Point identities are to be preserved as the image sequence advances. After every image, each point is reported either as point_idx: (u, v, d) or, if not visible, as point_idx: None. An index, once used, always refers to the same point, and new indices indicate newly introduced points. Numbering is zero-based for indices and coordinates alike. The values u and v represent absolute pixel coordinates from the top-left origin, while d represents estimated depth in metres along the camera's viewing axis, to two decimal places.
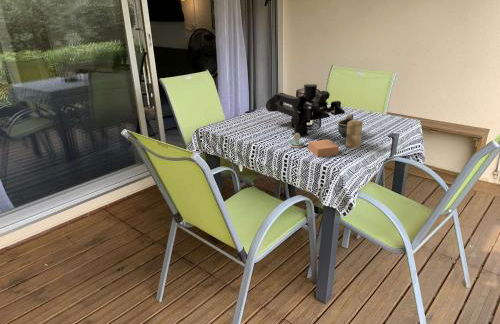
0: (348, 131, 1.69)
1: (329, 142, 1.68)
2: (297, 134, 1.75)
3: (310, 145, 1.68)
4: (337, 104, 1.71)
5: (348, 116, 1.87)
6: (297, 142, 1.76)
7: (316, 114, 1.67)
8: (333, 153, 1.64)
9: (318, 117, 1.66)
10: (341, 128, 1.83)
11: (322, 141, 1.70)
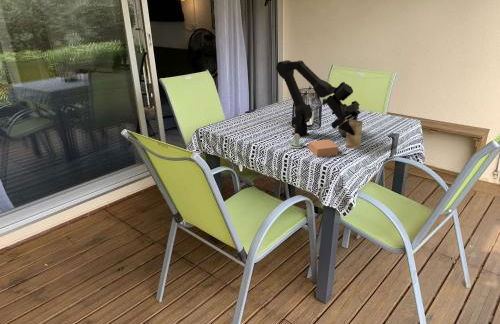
0: None
1: (330, 142, 1.68)
2: (297, 135, 1.74)
3: (310, 145, 1.69)
4: (356, 118, 1.72)
5: None
6: (297, 143, 1.75)
7: (343, 125, 1.68)
8: (333, 153, 1.64)
9: (343, 128, 1.69)
10: None
11: (322, 141, 1.70)
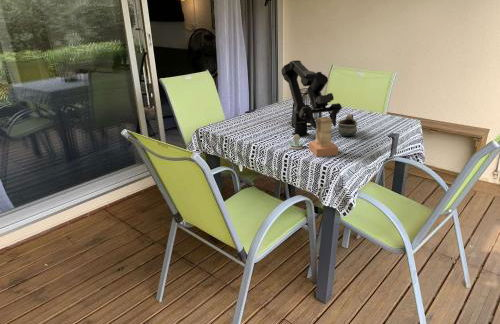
0: (317, 127, 1.65)
1: None
2: (297, 135, 1.73)
3: (310, 145, 1.69)
4: (335, 111, 1.64)
5: (348, 116, 1.87)
6: (297, 143, 1.74)
7: (307, 116, 1.63)
8: (332, 153, 1.64)
9: (308, 120, 1.64)
10: (341, 128, 1.83)
11: None
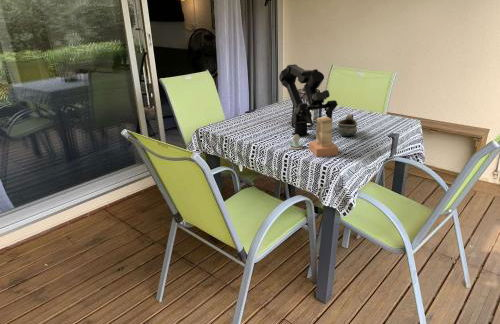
0: (317, 127, 1.64)
1: None
2: (296, 135, 1.73)
3: (310, 145, 1.69)
4: (331, 108, 1.67)
5: (348, 116, 1.87)
6: (296, 144, 1.74)
7: (304, 113, 1.66)
8: (332, 153, 1.64)
9: (304, 116, 1.67)
10: (341, 128, 1.83)
11: None
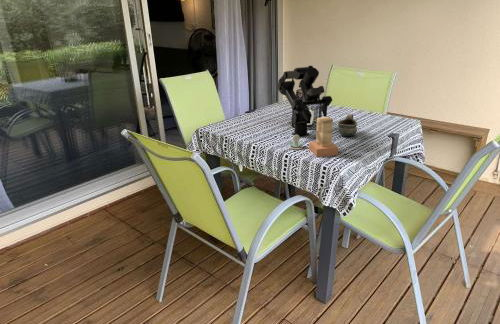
0: (317, 127, 1.64)
1: None
2: (296, 136, 1.72)
3: (310, 145, 1.69)
4: (326, 103, 1.71)
5: (348, 116, 1.87)
6: (296, 144, 1.74)
7: (299, 108, 1.71)
8: (332, 153, 1.64)
9: (300, 112, 1.71)
10: (341, 128, 1.83)
11: None
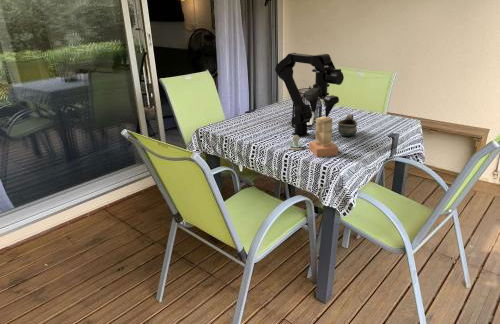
0: (317, 128, 1.63)
1: None
2: (296, 136, 1.72)
3: (310, 145, 1.69)
4: (325, 105, 1.69)
5: (348, 116, 1.87)
6: (296, 144, 1.73)
7: None
8: (332, 154, 1.63)
9: None
10: (341, 128, 1.83)
11: None
